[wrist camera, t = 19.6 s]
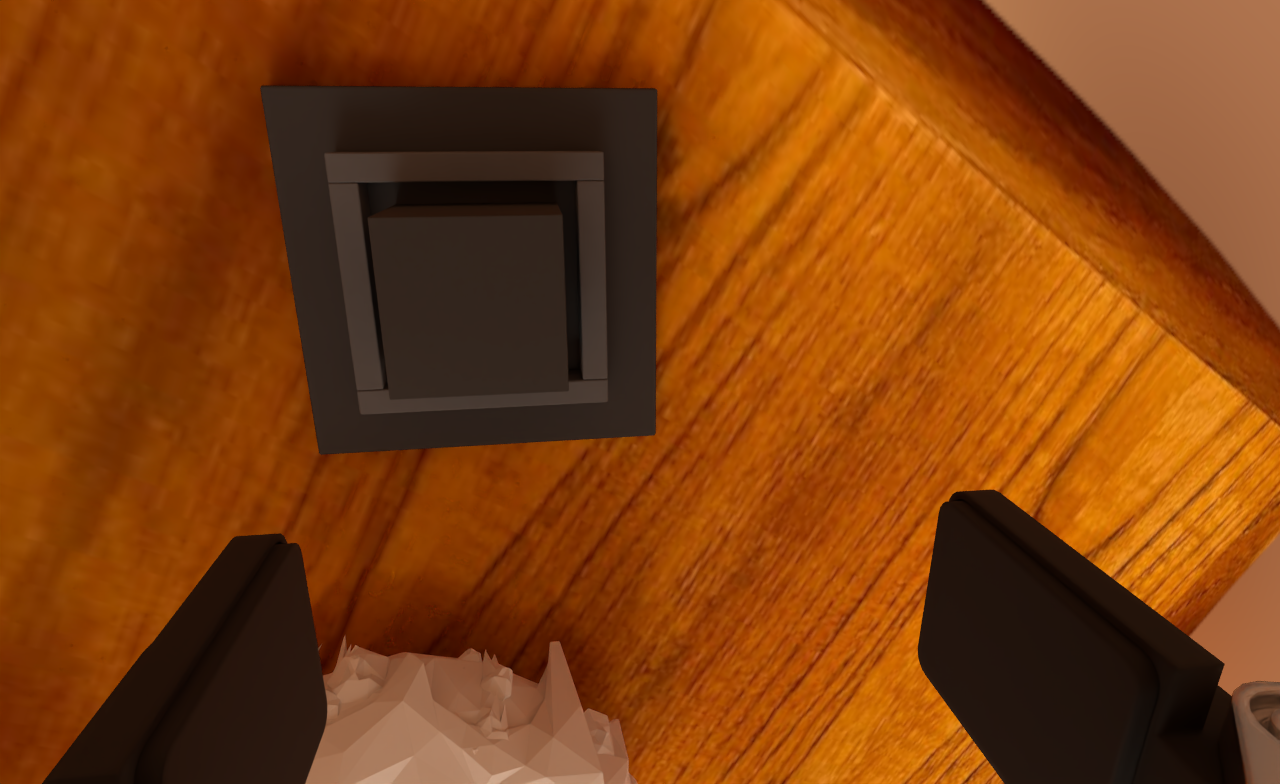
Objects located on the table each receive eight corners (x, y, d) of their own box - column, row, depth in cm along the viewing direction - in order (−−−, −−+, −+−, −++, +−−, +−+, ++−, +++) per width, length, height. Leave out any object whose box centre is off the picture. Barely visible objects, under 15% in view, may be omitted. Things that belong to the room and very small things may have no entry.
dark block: (395, 203, 27) (366, 217, 22) (556, 201, 28) (562, 214, 23) (412, 358, 29) (389, 400, 24) (562, 352, 30) (569, 392, 25)
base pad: (268, 87, 26) (242, 81, 24) (653, 90, 28) (664, 85, 26) (325, 445, 31) (308, 471, 28) (652, 427, 32) (661, 449, 30)
